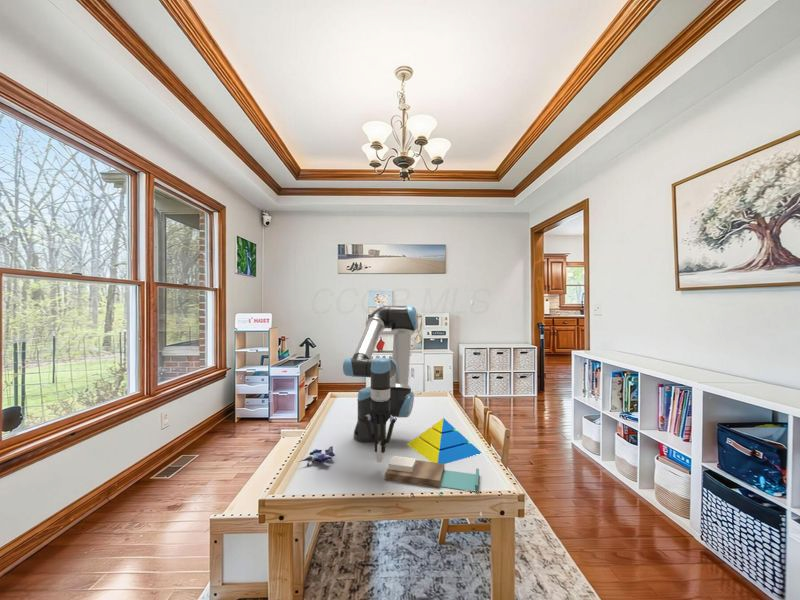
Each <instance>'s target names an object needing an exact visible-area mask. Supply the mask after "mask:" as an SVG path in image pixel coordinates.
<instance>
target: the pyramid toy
mask: <svg viewBox="0 0 800 600" xmlns="http://www.w3.org/2000/svg"><path fill="white" fill-rule="evenodd" d="M406 445H407V446H408V447H410V448H411V449H413V450H414V451H416V452H417V453H418V454H420V455H421V456H422V457H424V458H425V459H426V460H428V462H435V463H443V464H444V465H445V464H449V463H452V462H457V461H459V460H464V459H467V457H468V458H471V457H474V456H473V455H475V456H477V455H476V454H479V455H481V454H480V453H482V451H481V450H479V448H477V447H476V446H475V445H474V444H473V443H471V442H470V440H469V439H468V438H466V437H465V436H464V435H463V434H462V433H461V432H460V431H458V430H457V429H456V427H454V426H453V425H452V424H451V423H450V422H449V421H447V419H445V417H442V418H441V419H440V420H438V421H437V422H436V423H434V424H433V425H431V427H429V428H427V429H425V431H423V432H421V434H419V435H418V436H416V437H415V438H413V439H412V440H411V441H409V442H407V444H406ZM470 456H471V457H470Z"/></svg>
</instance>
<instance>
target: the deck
mask: <svg viewBox="0 0 800 600" xmlns="http://www.w3.org/2000/svg"><path fill="white" fill-rule="evenodd" d="M444 470H445V464H443V463H435V462H431V461H426V460H419V459H418V460H417V459H416V465H415V468H414V470H413V472H405V471H397V470H390V469H389V466H388V467H387V469H386V470H385V472H384V481H390V482H398V483H403V484H404V483H405V484H412V485H418V486H419V485H420V486H425V487H433V488H437V489H438V488H439V489H440V488H441V487H440V484H441V480H442V477H443V473H444Z"/></svg>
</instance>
